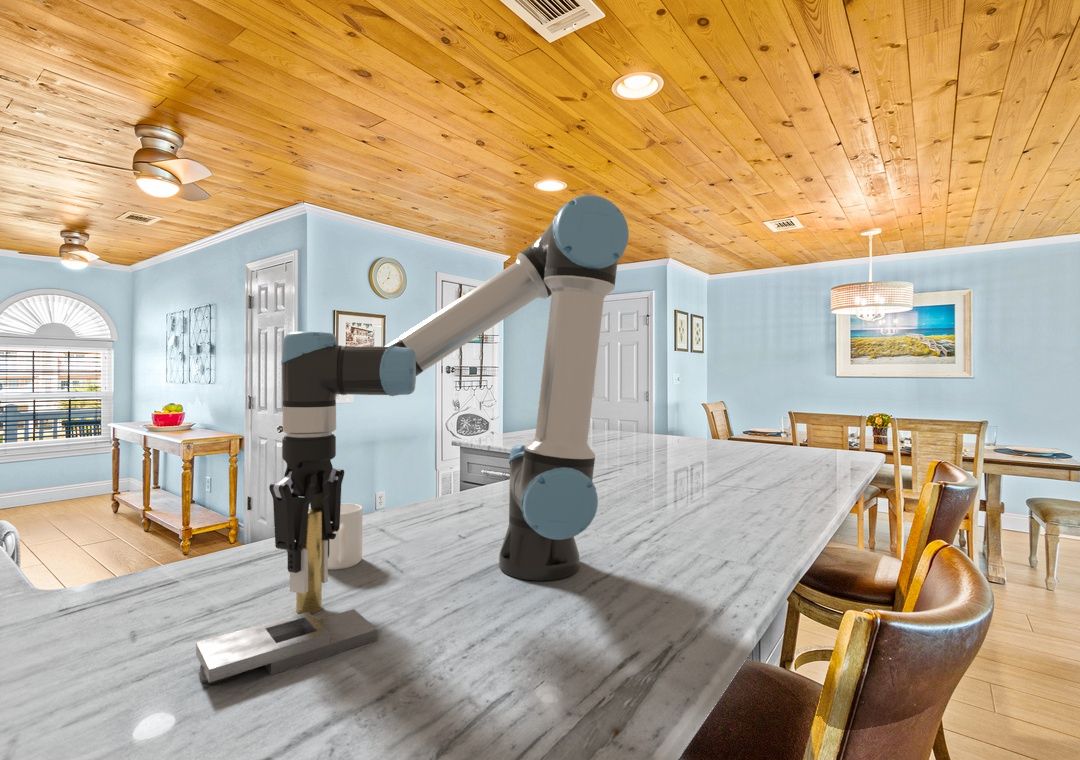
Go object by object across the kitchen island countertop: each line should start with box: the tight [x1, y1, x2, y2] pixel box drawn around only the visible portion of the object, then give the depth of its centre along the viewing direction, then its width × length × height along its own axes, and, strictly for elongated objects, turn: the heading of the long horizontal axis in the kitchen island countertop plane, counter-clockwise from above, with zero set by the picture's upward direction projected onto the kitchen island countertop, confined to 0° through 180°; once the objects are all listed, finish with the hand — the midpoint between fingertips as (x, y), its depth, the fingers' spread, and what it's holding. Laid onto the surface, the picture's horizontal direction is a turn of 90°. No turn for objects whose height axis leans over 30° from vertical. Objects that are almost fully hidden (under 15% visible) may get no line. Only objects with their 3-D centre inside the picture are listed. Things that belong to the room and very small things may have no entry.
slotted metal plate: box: [195, 608, 378, 686], centre depth 72 cm, size 20×8×3 cm, turn 131°
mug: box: [328, 502, 363, 571], centre depth 103 cm, size 12×8×10 cm
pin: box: [295, 508, 323, 615], centre depth 84 cm, size 4×4×15 cm
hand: (309, 585), depth 84 cm, fingers closed on pin, 4 cm apart
